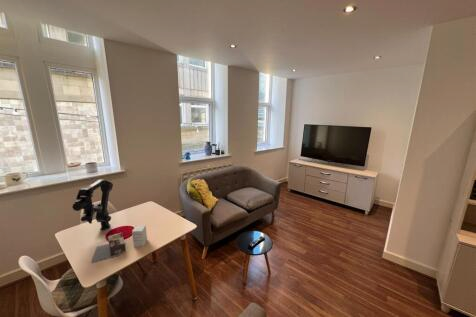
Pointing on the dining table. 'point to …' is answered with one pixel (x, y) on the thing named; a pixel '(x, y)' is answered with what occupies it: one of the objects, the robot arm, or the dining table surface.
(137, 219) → the dining table surface
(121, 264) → the dining table surface
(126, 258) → the dining table surface
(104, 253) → the mat
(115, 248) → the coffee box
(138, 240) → the supplement box
